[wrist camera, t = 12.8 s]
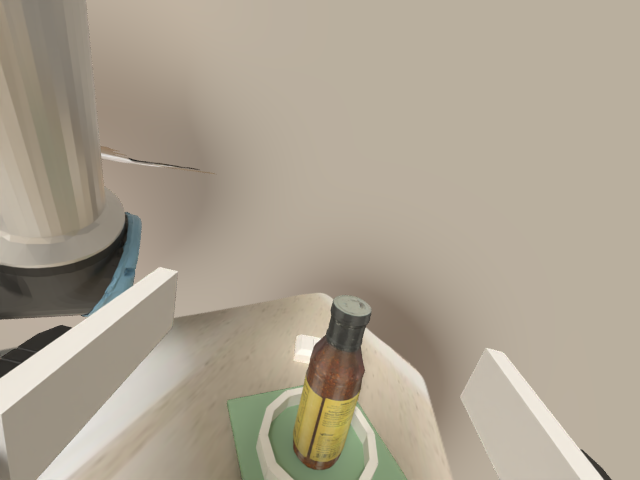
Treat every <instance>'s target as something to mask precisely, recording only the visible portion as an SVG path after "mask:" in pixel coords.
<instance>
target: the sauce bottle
mask: <svg viewBox="0 0 640 480" xmlns="http://www.w3.org/2000/svg"><path fill="white" fill-rule="evenodd" d="M370 316H371V307H370V306H369V305H368V304H367V303H366V302H365V301H363V300H362V299H360V298H358V297H354V296H348V295H342V296H337V297H336V298H335V299H334V300H333V304H332V307H331V319H330V323H329V328H328V330H327V332H326V335H325V336H324V337H323V338H322V339H321V340H319V341H318V342H317V343H316V344H315V346H314V347H313V351H312V354H311V357H310V363H309V367H308V369H307V372H306V376H305V381H304V385H303V390H302V395H301V399H300V404H299V408H298V412H297V416H296V421H295V425H294V429H293V449H294V453H295V454H296V456H297V457H298V458H299V460H300V461H301V462H302V463H303V464H305V466H307V467H308V468H311V469H314V470H325V469H328V468H330V467H332V466H333V465H334V464H335V463H336V461H337V460H338V458H339V457H340V455H341V452H342V450H343V447H344V444H345V441H346V437H347V434H348V430H349V427H350V423H351V420H352V417H353V413H354V410H355V406H356V403H357V400H358V396H359V393H360V389H361V383H362V377H363V374H364V372H365V369H364V365H363V359H362V352H361V344H362V338H363V334H364V331H365V328H366V325H367V324H368V323H369V321H370Z"/></svg>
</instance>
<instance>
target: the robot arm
mask: <svg viewBox="0 0 640 480" xmlns="http://www.w3.org/2000/svg"><path fill="white" fill-rule="evenodd" d="M141 225H142V223H141V219H140V218H139V217H138V216H136V215H132V214H130V213H128V212H124V208H123V205H122V203H121V201H120V200H119V198H118V197H117V196H116V195H115V194H114V193H113V192H112V191H110V190H109V189H108V188H106V187H105V186H104V181H103V170H102V160H101V150H100V139H99V130H98V119H97V109H96V98H95V89H94V77H93V67H92V57H91V47H90V36H89V26H88V17H87V6H86V0H0V319H19V318H35V317H36V318H37V317H55V316H73V315H81V316H84V317H87V318H86V319H85V320H83V321H82V322H81V323H79V324H77V325H76V326H74V327H73V328H71V327H67V326H63V325H60V326H57V327H54V328H52V329H49V330H47V331H44V332H42V333H39V334H37V335H35V336H34V337H32V338H31V339H29V340H27V341H26V342H25V343H23V344H21V345H20V346H18V348H17V349H13V350H12V351H10V352H9V353H7V354H6V355H4V356H2V358H1V359H0V480H36V479H37V478H38V477H39V476H40V475H41V474H42V473H43V472H44V470H45V469H46V468H47V467H48V466H49V465H50V464H51V463H52V462H53V460H54V459H55V458H56V457H57V456H58V455H59V454H60V453H61V451H62V450H63V449H64V448H65V447H66V446H67V445H68V444H69V443H70V441H71V440H72V439H73V438H74V437H75V436H76V435H77V434H78V432H79V431H80V430H81V429H82V428H83V427H84V426H85V425H86V423H87V422H88V421H89V420H90V419H91V418H92V417H93V416H94V415H95V413H96V412H97V411H98V410H99V409H100V408H101V407H102V406H103V404H104V403H105V402H106V401H107V400H108V399H109V398H110V397H111V396H112V394H113V393H114V392H115V391H116V390H117V389H118V388H119V387H120V385H121V384H122V383H123V382H124V381H125V380H126V379H127V378H128V377H129V375H130V374H131V373H132V372H133V371H134V370H135V369H136V368H137V366H138V365H139V364H140V363H141V362H142V361H143V360H144V359H145V358H146V356H147V355H148V354H149V353H150V352H151V351H152V350H153V349H154V347H155V346H156V345H157V344H158V343H159V342H160V341H161V340H162V339H163V337H164V336H165V335H166V334H167V333H168V332H169V331H170V330H171V328H172V327H173V319H174V308H175V298H176V288H177V277H178V271H174V270H169V269H166V268H161V267H159V268H158V269H156V270H155V271H153V272H152V273H150V274H149V275H147V276H146V277H145V278H143V279H142V280H140V281H139V282H137V283H136V284H135V285H133V282H134V277H135V269H136V264H137V261H138V254H139V247H140V239H141V228H142V226H141ZM460 398H461V400H462V402H463V404H464V407H465V409H466V411H467V413H468V415H469V417H470V419H471V421H472V423H473V425H474V427H475V430H476V431H477V434H478V436H479V438H480V440H481V442H482V444H483V446H484V448H485V450H486V452H487V455H488V456H489V459H490V461H491V463H492V465H493V467H494V469H495V471H496V473H497V475H498V478H499V480H611V479H610V477H609V476H608V475H607V474H606V472H605V471H604V470H603V469H602V468H601V467H600V466H599V465H598V464H597V463H596V462H595V461H594V460H593V459H592V458H591V457H589V456H588V455H587V454H586V453H585V452H584V451H583V450H581V449H579V448H578V446H577V445H576V444H575V443H574V441H573V440H572V439H571V437H570V436H569V435H568V434H567V432H566V431H565V430H564V429H563V427H562V426H561V425H560V424H559V422H558V421H557V420H556V418H555V417H554V416H553V415H552V413H551V412H550V411H549V410H548V408H547V407H546V406H545V404H544V403H543V402H542V401H541V399H540V398H539V397H538V396H537V395H536V393H535V392H534V391H533V389H532V388H531V387H530V385H529V384H528V383H527V382H526V380H525V379H524V378H523V377H522V375H521V374H520V373H519V372H518V370H517V369H516V368H515V367H514V365H513V364H512V363H511V361H510V360H509V359H508V358H507V356H506V355H505V354H504V353H503V352H500V351H496V350H492V349H488V348H486V349H485V350H484V353H483V354H482V356H481V358H480V360H479V362H478V364H477V366H476V367H475V369H474V371H473V373H472V375H471V377H470V379H469V381H468V383H467V385H466V387H465V388H464V390H463V392H462V394H461V396H460Z"/></svg>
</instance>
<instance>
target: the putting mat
mask: <svg viewBox="0 0 640 480" xmlns="http://www.w3.org/2000/svg"><path fill="white" fill-rule="evenodd" d="M302 390H303V385H302V386H297V387H292V388H287V389H282V390H277V391H272V392H266V393H261V394H256V395H251V396H246V397H241V398H236V399H231V400H228V401H227V406H228V411H229V416H230V421H231V426H232V431H233V436H234V441H235V446H236V451H237V456H238V461H239V466H240V471H241V476H242V480H407V478H406V477H405V475H404V474H403V472H402V470H401V469H400V467H399V466H398V464H397V463H396V461H395V460H394V458H393V456H392V455H391V453H390V452H389V450H388V449H387V447H386V446H385V444H384V442H383V441H382V439H381V438H380V436H379V435H378V433H377V432H376V430H375V428H374V427H373V425H372V424H371V422H370V421H369V419H368V418H367V416H366V414H365V413H364V411H363V410H362V408H361V407H360V405H359V404H358V402H357V403H356V406H355V410H354V413H353V417H352V420H351V423H350V427H349V430H348V434H347V437H346V441H345V444H344V447H343V450H342V452H341V455H340V457H339V458H338V460H337V461H336V463H335V464H334V465H333V466H332V467H330V468H328V469H325V470H314V469H311V468H308V467H307V466H305V464H303V463H302V462H301V461H300V460H299V458H298V457H297V456H296V454H295V453H294V449H293V429H294V425H295V421H296V416H297V412H298V408H299V404H300V399H301V395H302Z"/></svg>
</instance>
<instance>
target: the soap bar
mask: <svg viewBox="0 0 640 480" xmlns="http://www.w3.org/2000/svg"><path fill="white" fill-rule="evenodd" d="M321 339H322V338H318V337H313V336H307V335H297V337H296V341H295V349H294V359H293V361H298V362H303V363H310V357H311V354H312V351H313V347H314V346H315V344H316V343H317V342H318V341H319V340H321Z"/></svg>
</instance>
